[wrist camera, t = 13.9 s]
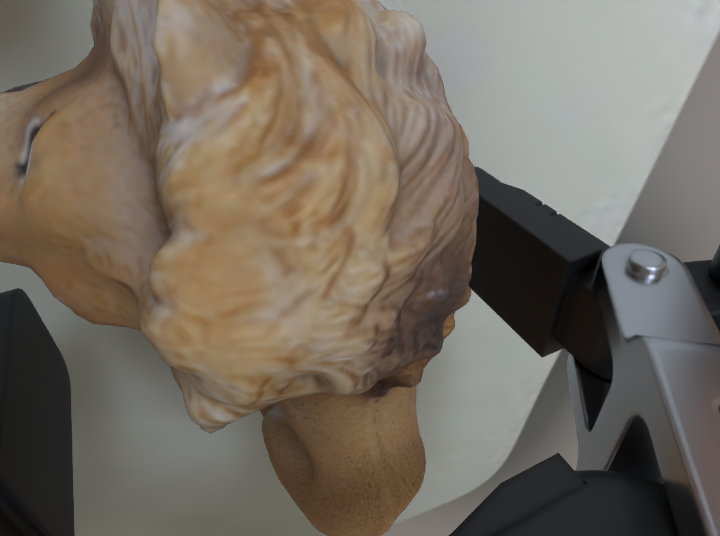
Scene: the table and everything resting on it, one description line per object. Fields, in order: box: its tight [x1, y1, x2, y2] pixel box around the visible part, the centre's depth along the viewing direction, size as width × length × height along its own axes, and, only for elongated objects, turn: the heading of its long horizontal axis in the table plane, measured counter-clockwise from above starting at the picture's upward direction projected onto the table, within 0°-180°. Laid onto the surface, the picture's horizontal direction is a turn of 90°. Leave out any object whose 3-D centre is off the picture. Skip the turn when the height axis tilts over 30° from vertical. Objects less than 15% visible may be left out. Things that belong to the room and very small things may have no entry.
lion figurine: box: [0, 0, 479, 536], centre depth 10 cm, size 15×5×9 cm, turn 16°
